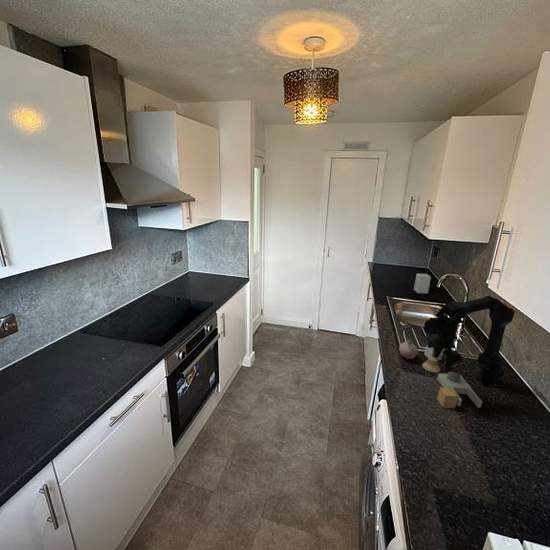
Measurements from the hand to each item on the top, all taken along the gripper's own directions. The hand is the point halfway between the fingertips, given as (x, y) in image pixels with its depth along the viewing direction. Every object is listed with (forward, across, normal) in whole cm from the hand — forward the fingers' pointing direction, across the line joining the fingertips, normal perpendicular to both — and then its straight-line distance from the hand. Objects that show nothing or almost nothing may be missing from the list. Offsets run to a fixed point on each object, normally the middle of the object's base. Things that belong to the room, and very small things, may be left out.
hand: (440, 363), depth 131 cm
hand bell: (+14, -17, +5) cm, 23 cm away
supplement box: (+14, -133, +42) cm, 140 cm away
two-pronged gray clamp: (+13, +1, +10) cm, 17 cm away
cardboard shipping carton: (+14, +9, +1) cm, 16 cm away
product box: (+14, -27, +10) cm, 32 cm away
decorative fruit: (+14, -24, -5) cm, 28 cm away
